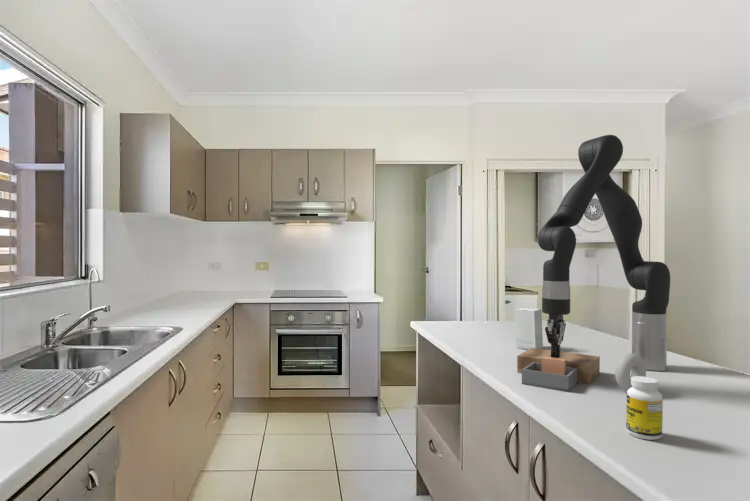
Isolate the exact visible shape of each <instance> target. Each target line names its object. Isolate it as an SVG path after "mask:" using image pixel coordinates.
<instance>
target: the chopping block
mask: <svg viewBox="0 0 750 501" xmlns="http://www.w3.org/2000/svg"><path fill="white" fill-rule="evenodd" d="M516 356H517V357H516V358H517V359H516V361H517V364H516V365H517V366H516V370H517V371H516V372H517V373H519V374H522V369H523V368H525V367H526V366H528V365H529V364H531V363H533V362H536V363H542V357H544V356H545V357H551V349H546V348H545V349H544V348H543V349H537V348H531V349H529V350H527V349H526V350H525V351H523V352H522V353H520V354H518V355H516ZM559 358H560V359H566V367H570V368H577V383H579V382H580V383H581V384H585V383H586V384H587V385H590V384H591V383H592V382H594V380H595V379H596V378H597V377H598V376H599V375H598V374H600V370H601V368H600V363H601V361H600V359H601V357H600V356H598V355H591V354H585V353H584V354H582V353H576V352H575V353H574V352H568V351H567V352H566V351H561V350H560V357H559ZM597 375H598V376H597Z"/></svg>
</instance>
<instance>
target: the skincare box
mask: <svg viewBox="0 0 750 501" xmlns="http://www.w3.org/2000/svg"><path fill="white" fill-rule="evenodd" d="M542 313H543V312H542V308H529V307H528V308H525V307H519V308H516V309H514V323H515V326H514V327H515V348H516V349H521V350H526V351H527V350H529V349H531V348H537V349H544V341H543V340H544V339H543V336H544V335H543V316H542Z"/></svg>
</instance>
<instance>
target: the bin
mask: <svg viewBox="0 0 750 501" xmlns="http://www.w3.org/2000/svg"><path fill="white" fill-rule="evenodd" d="M521 384H522V385H527V386H531V387H536V388H537V387H538V388H543V389H550V390H555V391H561V392H566V393H569V392H570V391H571V390H572V389H573V388H574V387H575V386H577V384H578V382H577V368H570V367H566V376H565V375H559V374H553V373H546V372H542V363H536V362H533V363H531V364H529V365H528V366H526V367H525V368H523V369H522V373H521Z"/></svg>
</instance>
